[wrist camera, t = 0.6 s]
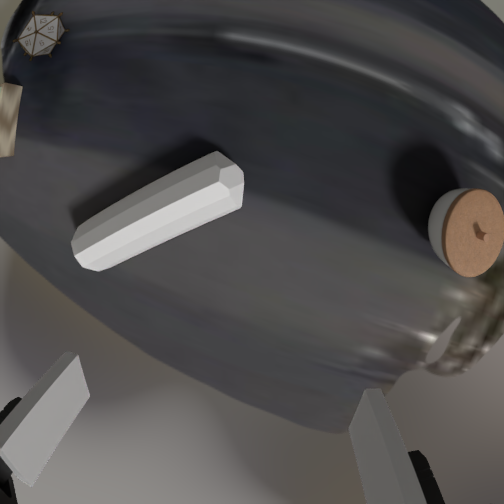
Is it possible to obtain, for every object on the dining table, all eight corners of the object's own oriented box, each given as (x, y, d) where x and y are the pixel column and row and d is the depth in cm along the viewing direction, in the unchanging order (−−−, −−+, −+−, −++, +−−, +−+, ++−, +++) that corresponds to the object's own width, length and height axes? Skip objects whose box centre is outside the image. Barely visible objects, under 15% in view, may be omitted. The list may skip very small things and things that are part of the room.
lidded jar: (471, 182, 33) (513, 189, 24) (471, 254, 36) (509, 274, 27) (413, 186, 34) (452, 192, 25) (415, 264, 37) (450, 289, 27)
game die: (60, 57, 33) (7, 70, 27) (62, 13, 28) (9, 23, 21) (78, 49, 29) (16, 63, 23) (82, 0, 24) (19, 8, 18)
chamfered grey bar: (221, 125, 30) (60, 217, 33) (242, 178, 28) (63, 268, 31) (240, 159, 37) (94, 232, 40) (259, 206, 35) (101, 277, 38)
